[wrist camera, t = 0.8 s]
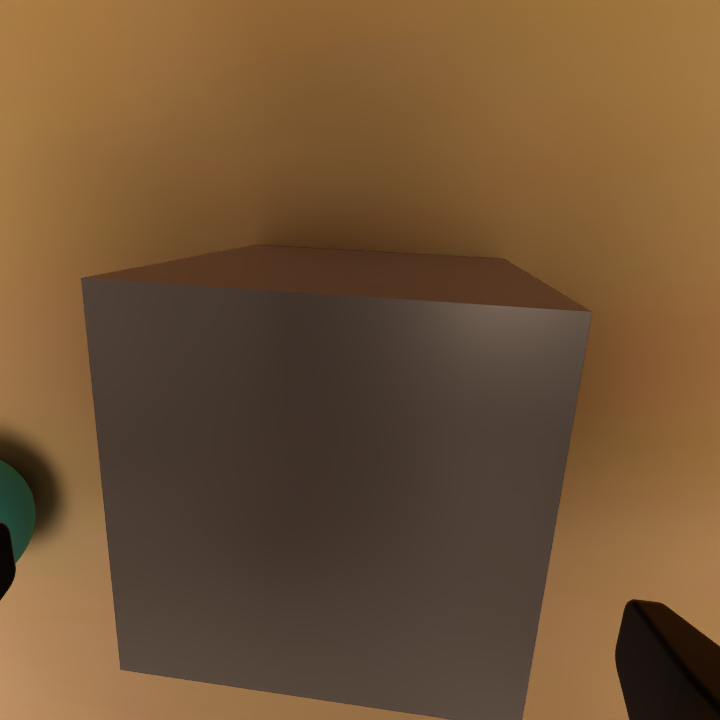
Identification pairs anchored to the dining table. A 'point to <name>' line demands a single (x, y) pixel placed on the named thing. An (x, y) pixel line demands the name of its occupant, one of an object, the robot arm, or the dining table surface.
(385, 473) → the grey matte cube
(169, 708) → the dining table surface
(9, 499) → the ball
